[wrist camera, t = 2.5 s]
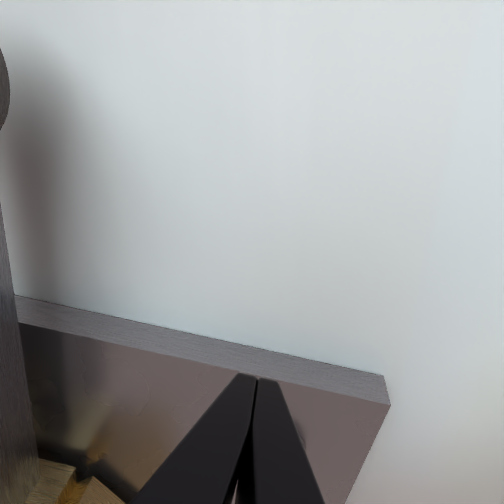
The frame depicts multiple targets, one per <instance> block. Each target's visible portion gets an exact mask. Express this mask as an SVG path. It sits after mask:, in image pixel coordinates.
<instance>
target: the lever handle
mask: <svg viewBox="0 0 504 504" xmlns="http://www.w3.org/2000/svg"><path fill="white" fill-rule="evenodd" d="M9 102H10V85H9V77H8V71H7V67H6V63H5V60H4V57H3V54H2V51H1V49H0V130H1V128H2V126H3V124H4V122H5V119H6V116H7V114H8V108H9ZM0 504H126V503H124V502H123V501H122V500H121V499H120V498H119V497H117V496H116V495H115V494H114V493H113V492H112V491H110V490H109V489H108V488H107V487H106V486H105V485H103V484H102V483H101V482H100V481H99V480H98V479H96V478H95V477H94V476H92V477H89V478H87V479H84V480H82V481H80V482H77V475H76V467H73V466H69V465H65V464H61V463H56V462H52V461H48V460H44V459H40V458H39V457H38V451H37V444H36V437H35V431H34V424H33V417H32V411H31V404H30V397H29V391H28V384H27V377H26V371H25V364H24V357H23V351H22V344H21V337H20V331H19V324H18V317H17V311H16V304H15V297H14V291H13V284H12V277H11V271H10V264H9V257H8V251H7V244H6V238H5V231H4V224H3V218H2V211H1V204H0Z"/></svg>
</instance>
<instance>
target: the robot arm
mask: <svg viewBox="0 0 504 504" xmlns="http://www.w3.org/2000/svg"><path fill="white" fill-rule="evenodd" d="M236 485H237V488H236ZM235 489H236V495H235V504H326V503H325V501H324V498H323V496H322V493H321V490H320V488H319V485H318V483H317V480H316V477H315V475H314V472H313V470H312V467H311V464H310V462H309V459H308V457H307V454H306V451H305V449H304V446H303V444H302V441H301V438H300V436H299V433H298V431H297V428H296V426H295V423H294V420H293V418H292V415H291V413H290V410H289V407H288V405H287V402H286V400H285V397H284V394H283V392H282V389H281V387H280V384H279V382H278V381H277V380H274V379H269V378H265V377H259V378H258V380H257V377H256V376H255V375H251V374H247V373H242V372H239V373H237V374H236V375H235V376H234V377H233V378H232V380H231V381H230V382H229V383H228V384H227V386H226V387H225V388H224V389H223V391H222V392H221V393H220V394H219V395H218V397H217V398H216V399H215V400H214V401H213V403H212V404H211V405H210V406H209V407H208V409H207V410H206V411H205V412H204V413H203V415H202V416H201V417H200V418H199V419H198V421H197V422H196V423H195V424H194V426H193V427H192V428H191V429H190V430H189V432H188V433H187V434H186V435H185V436H184V438H183V439H182V440H181V441H180V442H179V444H178V445H177V446H176V447H175V448H174V450H173V451H172V452H171V453H170V454H169V456H168V457H167V458H166V459H165V461H164V462H163V463H162V464H161V465H160V467H159V468H158V469H157V470H156V471H155V473H154V474H153V475H152V476H151V477H150V479H149V480H148V481H147V482H146V483H145V485H144V486H143V487H142V488H141V490H140V491H139V492H138V493H137V494H136V496H135V497H134V498H133V499H132V500H131V502H130V503H129V504H232V501H233V497H234V493H235Z"/></svg>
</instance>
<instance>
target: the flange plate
mask: <svg viewBox="0 0 504 504" xmlns="http://www.w3.org/2000/svg"><path fill="white" fill-rule="evenodd" d="M14 297H15V304H16V311H17V317H18V324H19V331H20V337H21V344H22V351H23V357H24V364H25V371H26V377H27V384H28V391H29V397H30V404H31V411H32V417H33V424H34V431H35V437H36V444H37V451H38V457H39V458H40V459H44V460H48V461H52V462H56V463H61V464H65V465H69V466H73V467H76V475H77V482H80V481H82V480H84V479H87V478H89V477H92V476H94V477H95V478H96V479H98V480H99V481H100V482H101V483H102V484H103V485H105V486H106V487H107V488H108V489H109V490H110V491H112V492H113V493H114V494H115V495H116V496H117V497H119V498H120V499H121V500H122V501H123V502H124V503H126V504H129V503H130V502H131V500H132V499H133V498H134V497H135V496H136V494H137V493H138V492H139V491H140V490H141V488H142V487H143V486H144V485H145V483H146V482H147V481H148V480H149V479H150V477H151V476H152V475H153V474H154V473H155V471H156V470H157V469H158V468H159V467H160V465H161V464H162V463H163V462H164V461H165V459H166V458H167V457H168V456H169V454H170V453H171V452H172V451H173V450H174V448H175V447H176V446H177V445H178V444H179V442H180V441H181V440H182V439H183V438H184V436H185V435H186V434H187V433H188V432H189V430H190V429H191V428H192V427H193V426H194V424H195V423H196V422H197V421H198V419H199V418H200V417H201V416H202V415H203V413H204V412H205V411H206V410H207V409H208V407H209V406H210V405H211V404H212V403H213V401H214V400H215V399H216V398H217V397H218V395H219V394H220V393H221V392H222V391H223V389H224V388H225V387H226V386H227V384H228V383H229V382H230V381H231V380H232V378H233V377H234V376H235V375H236V374H237V373H239V372H242V373H247V374H251V375H255V376H256V377H257V380H258V378H259V377H265V378H269V379H274V380H277V381H278V382H279V384H280V387H281V389H282V392H283V394H284V397H285V400H286V402H287V405H288V407H289V410H290V413H291V415H292V418H293V420H294V423H295V426H296V428H297V431H298V433H299V436H300V438H301V441H302V444H303V446H304V449H305V451H306V454H307V457H308V459H309V462H310V464H311V467H312V470H313V472H314V475H315V477H316V480H317V483H318V485H319V488H320V490H321V493H322V496H323V498H324V501H325V503H326V504H344V503H345V501H346V499H347V497H348V495H349V493H350V491H351V488H352V486H353V484H354V482H355V480H356V478H357V476H358V474H359V472H360V469H361V467H362V465H363V463H364V461H365V459H366V457H367V455H368V452H369V450H370V448H371V446H372V444H373V442H374V440H375V438H376V435H377V433H378V431H379V429H380V427H381V425H382V423H383V421H384V419H385V416H386V414H387V412H388V410H389V408H390V406H391V404H390V400H389V396H388V392H387V388H386V384H385V380H384V377H383V376H381V375H377V374H372V373H368V372H363V371H359V370H354V369H349V368H345V367H340V366H336V365H331V364H327V363H322V362H318V361H313V360H309V359H304V358H299V357H295V356H290V355H286V354H281V353H277V352H272V351H268V350H263V349H258V348H254V347H249V346H245V345H240V344H236V343H231V342H227V341H222V340H218V339H213V338H208V337H204V336H199V335H195V334H190V333H186V332H181V331H177V330H172V329H168V328H163V327H158V326H154V325H149V324H145V323H140V322H136V321H131V320H127V319H122V318H117V317H113V316H108V315H104V314H99V313H95V312H90V311H86V310H81V309H77V308H72V307H67V306H63V305H58V304H54V303H49V302H45V301H40V300H36V299H31V298H27V297H22V296H17V295H14ZM236 488H237V485H236ZM235 495H236V489H235V493H234V497H233V501H232V504H235Z"/></svg>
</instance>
